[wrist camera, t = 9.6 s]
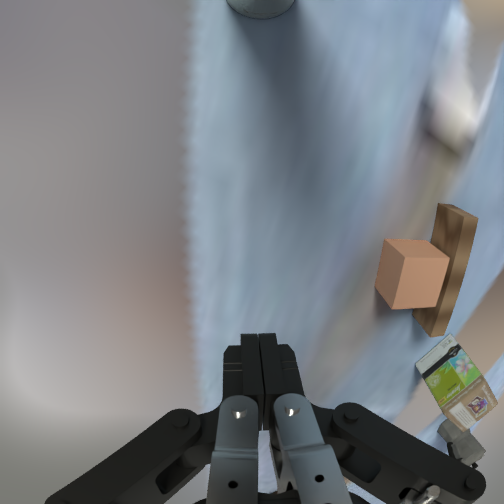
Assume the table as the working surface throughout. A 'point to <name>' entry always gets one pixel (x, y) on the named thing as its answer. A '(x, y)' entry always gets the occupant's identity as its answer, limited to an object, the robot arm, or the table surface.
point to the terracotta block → (410, 273)
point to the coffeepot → (461, 444)
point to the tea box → (456, 384)
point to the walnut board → (458, 250)
